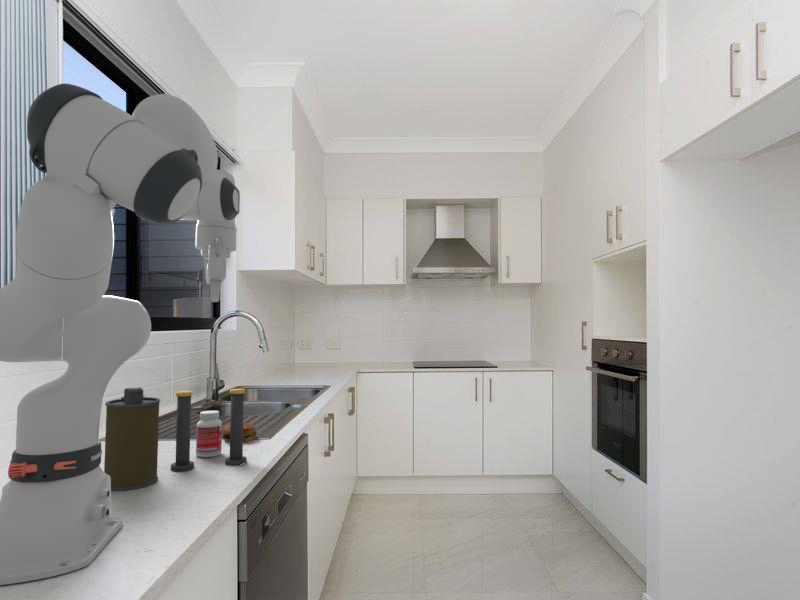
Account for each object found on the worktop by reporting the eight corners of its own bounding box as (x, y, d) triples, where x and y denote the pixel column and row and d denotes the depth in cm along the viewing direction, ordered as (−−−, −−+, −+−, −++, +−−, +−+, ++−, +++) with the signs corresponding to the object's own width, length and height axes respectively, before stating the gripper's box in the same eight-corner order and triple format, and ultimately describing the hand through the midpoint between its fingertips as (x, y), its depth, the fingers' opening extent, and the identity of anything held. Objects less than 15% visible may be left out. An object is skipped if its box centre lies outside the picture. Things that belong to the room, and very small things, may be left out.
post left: (193, 469, 114) (195, 392, 114) (170, 472, 112) (172, 394, 112) (193, 464, 118) (195, 390, 119) (171, 466, 116) (173, 391, 117)
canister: (164, 483, 104) (167, 389, 105) (109, 494, 97) (112, 393, 98) (149, 471, 112) (151, 384, 113) (96, 481, 105) (100, 387, 106)
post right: (247, 464, 118) (249, 390, 119) (225, 466, 116) (227, 391, 117) (245, 459, 123) (247, 387, 124) (224, 461, 121) (226, 388, 122)
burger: (239, 434, 150) (239, 419, 150) (262, 438, 146) (263, 422, 146) (214, 441, 141) (214, 425, 141) (238, 445, 137) (238, 429, 137)
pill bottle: (223, 455, 126) (224, 412, 126) (198, 459, 122) (199, 415, 123) (218, 450, 131) (219, 408, 131) (193, 453, 127) (194, 411, 128)
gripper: (233, 236, 105) (232, 300, 104) (228, 248, 124) (226, 303, 123) (202, 233, 102) (200, 299, 102) (201, 247, 121) (199, 302, 121)
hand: (214, 301), depth 113 cm, fingers closed
